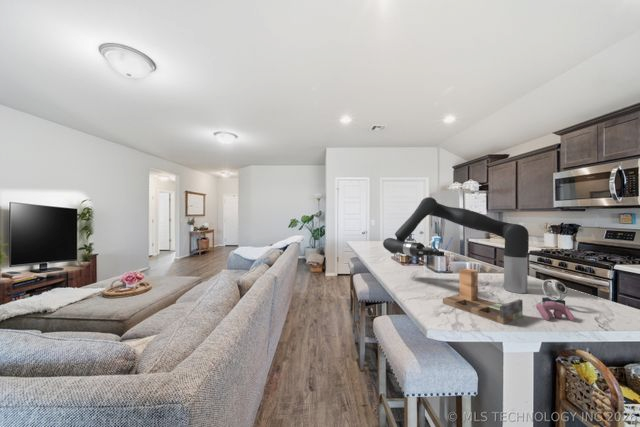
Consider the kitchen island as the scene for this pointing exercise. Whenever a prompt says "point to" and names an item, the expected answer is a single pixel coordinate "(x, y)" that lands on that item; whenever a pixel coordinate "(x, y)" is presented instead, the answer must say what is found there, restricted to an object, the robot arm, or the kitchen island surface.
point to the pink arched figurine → (558, 310)
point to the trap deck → (487, 308)
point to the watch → (558, 288)
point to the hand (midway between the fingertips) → (443, 254)
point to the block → (468, 284)
